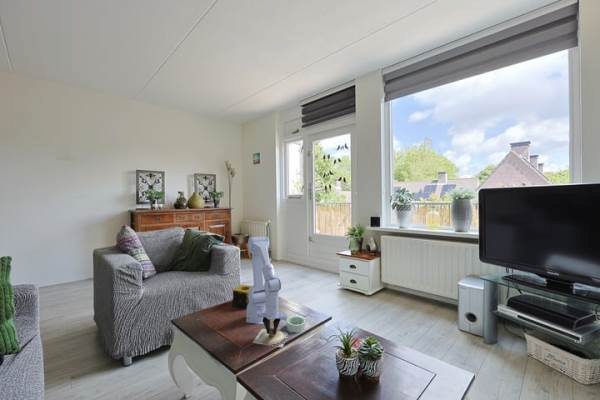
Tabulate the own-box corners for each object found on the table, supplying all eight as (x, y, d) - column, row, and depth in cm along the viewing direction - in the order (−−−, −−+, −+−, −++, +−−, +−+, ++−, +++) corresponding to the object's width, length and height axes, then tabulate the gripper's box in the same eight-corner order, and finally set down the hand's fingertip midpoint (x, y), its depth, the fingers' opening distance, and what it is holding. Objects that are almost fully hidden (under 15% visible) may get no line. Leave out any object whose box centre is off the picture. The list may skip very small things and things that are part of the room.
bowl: (284, 332, 129) (284, 324, 129) (289, 322, 138) (289, 315, 137) (303, 334, 127) (303, 326, 127) (306, 325, 136) (306, 317, 136)
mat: (252, 343, 119) (252, 342, 119) (262, 329, 131) (262, 328, 131) (282, 348, 116) (282, 347, 116) (289, 333, 128) (289, 332, 128)
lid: (256, 342, 119) (256, 334, 119) (264, 329, 130) (264, 322, 130) (279, 346, 117) (279, 337, 117) (286, 332, 128) (286, 325, 127)
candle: (231, 306, 155) (231, 290, 154) (241, 300, 164) (241, 284, 164) (246, 310, 151) (247, 292, 151) (255, 302, 161) (256, 286, 160)
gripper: (254, 306, 120) (253, 335, 121) (285, 310, 117) (284, 340, 118) (259, 300, 127) (259, 327, 128) (289, 303, 124) (288, 331, 125)
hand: (271, 333), depth 123 cm, fingers closed on lid, 3 cm apart
